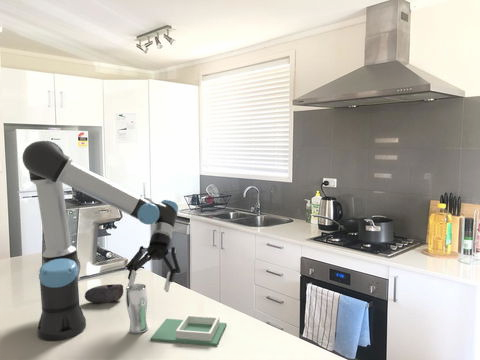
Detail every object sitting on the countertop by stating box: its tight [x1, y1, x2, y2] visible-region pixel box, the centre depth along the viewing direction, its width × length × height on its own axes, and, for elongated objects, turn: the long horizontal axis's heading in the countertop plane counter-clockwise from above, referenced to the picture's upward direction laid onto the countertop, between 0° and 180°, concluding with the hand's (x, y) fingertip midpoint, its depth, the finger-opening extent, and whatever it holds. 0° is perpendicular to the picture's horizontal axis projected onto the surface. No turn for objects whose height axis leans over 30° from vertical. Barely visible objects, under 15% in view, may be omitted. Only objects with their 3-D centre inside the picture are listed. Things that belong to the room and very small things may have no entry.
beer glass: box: [125, 283, 149, 335], centre depth 134 cm, size 7×7×15 cm
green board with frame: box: [150, 314, 227, 347], centre depth 132 cm, size 22×14×3 cm, turn 79°
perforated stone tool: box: [84, 283, 124, 304], centre depth 158 cm, size 15×5×7 cm, turn 94°
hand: (147, 289), depth 139 cm, fingers open, 13 cm apart
